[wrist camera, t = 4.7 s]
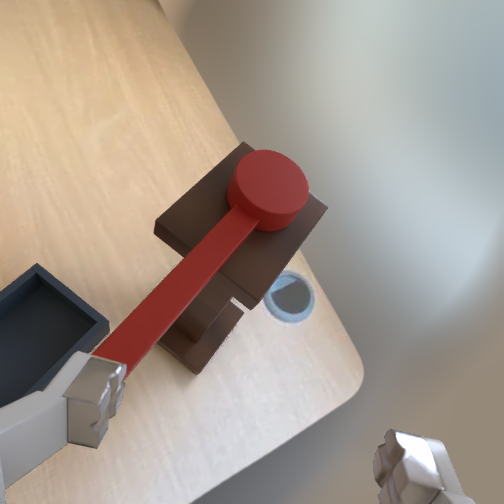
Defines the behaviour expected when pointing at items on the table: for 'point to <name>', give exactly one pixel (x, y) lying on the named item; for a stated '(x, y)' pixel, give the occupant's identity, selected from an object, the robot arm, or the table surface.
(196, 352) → the stand
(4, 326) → the bin
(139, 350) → the red lever with knob
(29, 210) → the table surface
